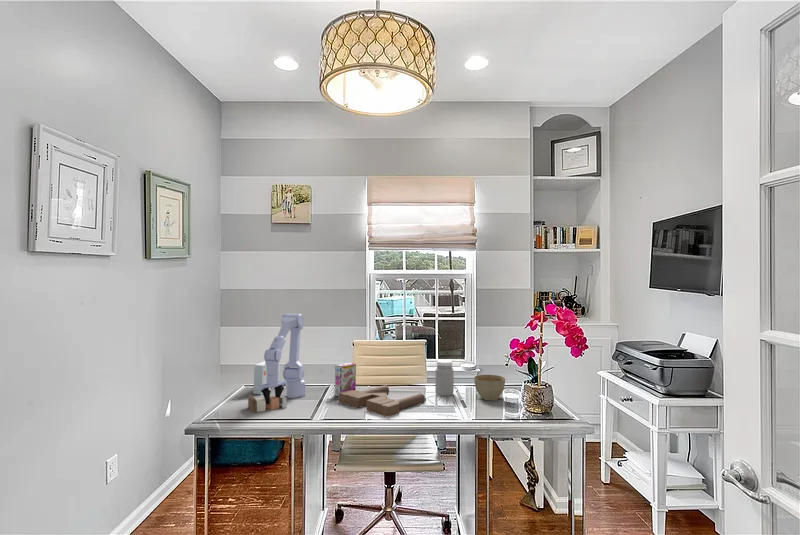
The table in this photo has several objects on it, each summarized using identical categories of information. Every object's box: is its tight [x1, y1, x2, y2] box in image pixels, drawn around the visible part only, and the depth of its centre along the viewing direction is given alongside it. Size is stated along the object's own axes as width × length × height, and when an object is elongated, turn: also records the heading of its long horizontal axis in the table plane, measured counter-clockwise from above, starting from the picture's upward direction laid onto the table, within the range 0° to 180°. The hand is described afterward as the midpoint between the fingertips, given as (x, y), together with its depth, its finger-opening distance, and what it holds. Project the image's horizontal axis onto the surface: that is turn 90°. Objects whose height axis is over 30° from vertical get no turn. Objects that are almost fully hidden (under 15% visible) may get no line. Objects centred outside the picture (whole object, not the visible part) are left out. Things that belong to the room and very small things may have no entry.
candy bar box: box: [334, 362, 357, 398], centre depth 250 cm, size 11×5×16 cm, turn 139°
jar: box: [434, 359, 455, 397], centre depth 251 cm, size 10×10×18 cm
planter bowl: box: [473, 374, 506, 401], centre depth 244 cm, size 16×16×11 cm
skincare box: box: [252, 359, 281, 396], centre depth 260 cm, size 21×6×16 cm, turn 168°
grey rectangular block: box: [279, 394, 288, 409], centre depth 225 cm, size 2×6×4 cm, turn 29°
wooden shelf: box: [247, 394, 257, 414], centre depth 223 cm, size 18×10×7 cm, turn 120°
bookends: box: [338, 384, 426, 418], centre depth 235 cm, size 35×6×29 cm
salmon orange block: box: [265, 395, 280, 411], centre depth 223 cm, size 4×6×5 cm, turn 47°
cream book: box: [254, 396, 266, 413], centre depth 220 cm, size 4×6×5 cm, turn 30°
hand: (272, 402), depth 223 cm, fingers open, 5 cm apart
